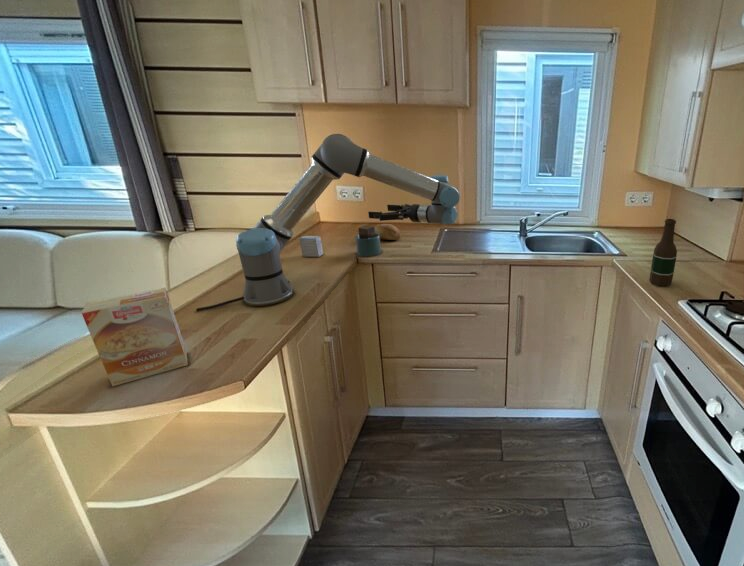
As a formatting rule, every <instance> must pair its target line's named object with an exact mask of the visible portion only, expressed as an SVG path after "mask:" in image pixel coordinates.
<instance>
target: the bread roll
mask: <svg viewBox="0 0 744 566" xmlns="http://www.w3.org/2000/svg"><path fill="white" fill-rule="evenodd" d="M374 229H375V233H378V234H379V235H380V240H389V241H390V240H391V241H398V240H400V239H401V237H402V234H401V231H400V229H399V228H398V227H397V226H395V225H393V224H390V223H382V224H378V225H376V226H374Z"/></svg>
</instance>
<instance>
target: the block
mask: <svg viewBox="0 0 744 566" xmlns="http://www.w3.org/2000/svg"><path fill="white" fill-rule="evenodd" d="M357 230H358V234H359V238H360V239H369V238H374V237H375V226H374V225H373V226H372V225H363V226H360V227H358V228H357Z"/></svg>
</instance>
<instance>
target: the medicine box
mask: <svg viewBox="0 0 744 566" xmlns="http://www.w3.org/2000/svg"><path fill="white" fill-rule="evenodd" d="M298 239H299V244H300V250H301V255H302V257H303V258H304V257H307V258H308V257H309V258H311V257H312V258H320V257H321V256H323V255H324V250H323V245H322V238H321V236H320V235H303V236H301V237H300V238H298Z"/></svg>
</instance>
